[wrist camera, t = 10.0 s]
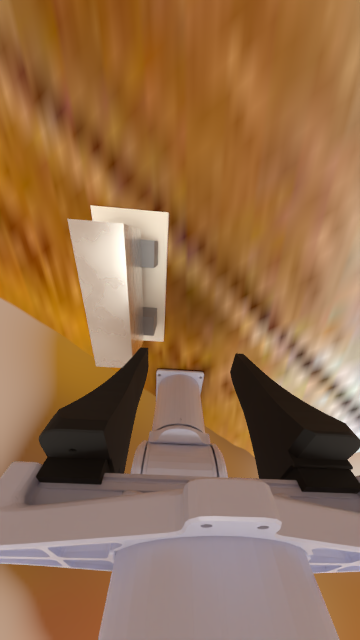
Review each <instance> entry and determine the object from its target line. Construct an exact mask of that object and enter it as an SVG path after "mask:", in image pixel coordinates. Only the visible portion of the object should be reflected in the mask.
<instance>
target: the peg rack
mask: <svg viewBox="0 0 360 640" xmlns="http://www.w3.org/2000/svg"><path fill="white" fill-rule="evenodd" d="M90 206H91V205H90ZM91 213H92V220H93V221H98V222H110V223H121V224H126V225H129V226H131V227H134V228H137V229H140V230H141V257H142V295H143V332H144V340H145V341H160V342H164V328H165V303H166V278H167V252H168V227H169V213H168V212H157V211H146V210H135V209H124V208H113V207H102V206H91Z"/></svg>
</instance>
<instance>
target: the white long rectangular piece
mask: <svg viewBox="0 0 360 640" xmlns="http://www.w3.org/2000/svg"><path fill="white" fill-rule="evenodd" d="M68 224H69V229H70V235H71V240H72V245H73V250H74V255H75V260H76V265H77V271H78V276H79V281H80V286H81V291H82V296H83V302H84V307H85V312H86V317H87V322H88V327H89V332H90V338H91V343H92V348H93V353H94V358H95V363H96V366H101V367H118V368H122V367H123V366H124V365H125V364H126V363H127V362H128V361H129V360H130V359H131V358H132V357H133V355H134V354H135V353H136V352H137V351H138V349H139V348H141V346H142V343H143V341H144V332H143V295H142V257H141V230H140V229H137V228H134V227H131V226H129V225H126V224H121V223H110V222H98V221H87V220H75V219H68Z"/></svg>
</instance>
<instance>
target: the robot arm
mask: <svg viewBox="0 0 360 640" xmlns="http://www.w3.org/2000/svg"><path fill="white" fill-rule="evenodd" d="M147 372H148V348H139V349H138V351H137V352H136V353H135V354H134V355H133V357H132V358H131V359H130V360H129V361H128V362H127V363H126V364H125V365H124V366H123V367H122V368H121V369H120V370H119V371H118V372H117V373H116V374H115V375H113V376H112V377H111V378H110V379H109V380H107V381H106V382H105V383H103V384H102V385H101V386H99V387H98V388H96V389H95V390H93V391H92V392H90V393H89V394H87V395H85V396H84V397H82V398H80V399H78V400H77V401H75V402H73V403H71V404H69V405H67V406H65V407H63V408H61V409H59V410H58V412H57V413H56V414H55V415H54V416H53V418H52V419H51V420H50V422H49V423H48V425H47V426H46V427H45V429H44V430H43V432H42V433H41V435H40V436H39V442H40V444H41V447H42V448H43V450H44V452H45V453H46V455H47V459H46V461H45V462H44V464H43V465H42V464H40V463H36V462H18V461H15V462H12V463H11V465H10V466H9V467H8V468H7V470H6V471H5V472H4V474H3V475H2V476H1V478H0V563H1V564H23V565H40V566H52V567H65V568H77V569H90V570H103V571H112V574H111V579H110V584H109V589H108V594H107V599H106V604H105V609H104V614H103V618H102V623H101V628H100V633H99V638H98V640H339V637H338V635H337V632H336V630H335V627H334V625H333V622H332V620H331V617H330V615H329V612H328V610H327V607H326V605H325V602H324V600H323V597H322V595H321V592H320V589H319V587H318V584H317V582H316V579H315V577H314V574H313V573H331V572H360V476H356V477H355V476H354V474H353V473H352V472H351V470H350V469H353V467H352V465H351V464H350V463H349V461H348V460H347V459H349V458H350V457H351V456H352V455H353V454H354V453H355V452H356V451H357V450H358V449H359V448H360V439H359V438H358V437H357V436H356V435H355V434H354V433H353V432H352V430H351V429H350V428H349V427H348V426H347V425H346V424H345V423H343V422H341V421H339V420H337V419H335V418H333V417H331V416H329V415H327V414H325V413H323V412H321V411H319V410H318V409H316V408H314V407H312V406H310V405H309V404H307V403H305V402H303V401H302V400H300V399H299V398H297V397H296V396H294V395H292V394H291V393H289V392H288V391H287V390H285V389H284V388H282V387H281V386H280V385H278V384H277V383H276V382H274V381H273V380H272V379H271V378H269V377H268V376H267V375H266V374H265V373H264V372H262V371H261V370H260V369H259V368H258V367H257V366H256V365H255V364H254V363H252V362H251V361H250V360H249V359H248V358H247V357H246V356H245V355H244V354H235V358H234V361H233V364H232V368H231V371H230V373H231V378H232V382H233V385H234V388H235V391H236V394H237V396H238V399H239V401H240V404H241V407H242V409H243V412H244V415H245V419H246V422H247V426H248V430H249V434H250V438H251V442H252V446H253V451H254V455H255V459H256V465H257V469H258V475H259V479H250V478H228V475H227V469H226V465H225V461H224V457H223V455H222V453H221V451H220V450H219V449H218V447H217V446H216V444H211V443H210V438H209V434H207V433H205V429H204V420H203V412H202V405H201V397H200V394H201V389H202V383H203V378H204V373H203V372H199V371H183V370H166V369H158V370H157V373H156V408H155V415H154V421H153V427H152V431H150V433H149V440H148V441H142V443H141V444H140V445H139V446H138V447H137V449H136V453H135V456H134V460H133V465H132V469H131V474H124V471H125V465H126V459H127V454H128V448H129V444H130V438H131V433H132V429H133V424H134V420H135V414H136V410H137V407H138V403H139V400H140V397H141V394H142V390H143V387H144V384H145V381H146V377H147ZM159 374H160V375H159ZM200 376H201V377H200Z"/></svg>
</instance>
